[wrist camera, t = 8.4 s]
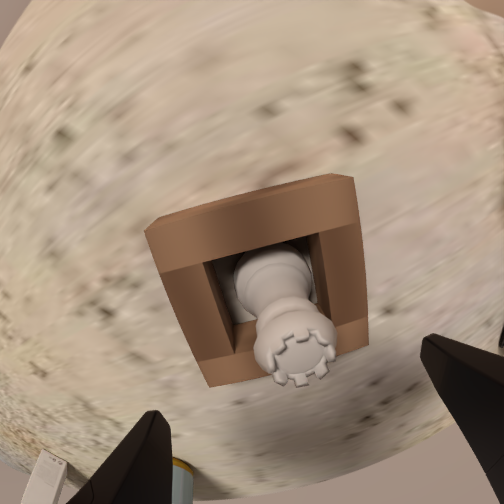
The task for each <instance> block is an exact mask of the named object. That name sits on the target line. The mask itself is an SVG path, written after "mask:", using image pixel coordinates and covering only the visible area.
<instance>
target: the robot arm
mask: <svg viewBox="0 0 504 504" xmlns="http://www.w3.org/2000/svg"><path fill="white" fill-rule="evenodd" d="M499 346H500V347H501V348H503V347H504V331H503V335H502V338H501V341H500V344H499ZM420 358H421V361H422V363H423V365H424V367H425V369H426V371H427V373H428V375H429V377H430V379H431V381H432V383H433V385H434V387H435V389H436V391H437V392H438V394H439V396H440V397H441V399H442V401H443V402H444V404H445V405H446V407H447V408H448V410H449V412H450V413H451V415H452V416H453V418H454V420H455V421H456V423H457V425H458V426H459V428H460V429H461V431H462V433H463V434H464V436H465V438H466V440H467V441H468V443H469V445H470V447H471V448H472V450H473V452H474V454H475V455H476V457H477V459H478V461H479V463H480V465H481V466H482V468H483V470H484V472H485V473H486V476H487V478H488V480H489V482H490V484H491V486H492V488H493V490H494V492H495V494H496V496H497V498H498V500H499V502H500V504H504V357H503V356H500V355H497V354H494V353H491V352H488V351H485V350H482V349H479V348H476V347H473V346H470V345H467V344H464V343H461V342H458V341H455V340H452V339H449V338H446V337H443V336H440V335H438V334H434V333H432V334H430V335H428V336H426V337H424V338H423V340H422V346H421V353H420ZM172 483H173V458H172V444H171V429H170V425H169V424H168V422H167V421H166V419H165V418H164V417H163V415H162V414H161V413H160V411H158V410H152V411H147V412H145V414H144V415H143V416H142V417H141V418H140V420H139V421H138V422H137V423H136V424H135V426H134V427H133V428H132V429H131V430H130V432H129V433H128V434H127V435H126V436H125V438H124V439H123V440H122V441H121V442H120V444H119V445H118V446H117V447H116V448H115V450H114V451H113V452H112V453H111V454H110V455H109V457H108V458H107V459H106V460H105V461H104V463H103V464H102V465H101V466H100V467H99V468H98V470H97V471H96V472H95V473H94V474H93V475H92V477H91V478H90V479H89V480H88V481H87V482H86V483H85V485H84V486H83V487H82V488H81V489H80V490H79V491H78V492H77V493H76V495H74V496H73V497H72V498H71V499H70V500H69V501H68V502H67V503H66V504H172Z"/></svg>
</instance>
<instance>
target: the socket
mask: <svg viewBox="0 0 504 504" xmlns="http://www.w3.org/2000/svg"><path fill="white" fill-rule="evenodd" d="M144 233H145V236H146V239H147V241H148V244H149V247H150V250H151V253H152V256H153V258H154V261H155V264H156V267H157V269H158V272H159V275H160V277H161V280H162V282H163V285H164V288H165V290H166V293H167V295H168V298H169V300H170V303H171V305H172V307H173V310H174V312H175V315H176V317H177V319H178V322H179V324H180V326H181V329H182V331H183V333H184V335H185V338H186V340H187V342H188V344H189V346H190V349H191V351H192V353H193V355H194V357H195V359H196V361H197V364H198V366H199V368H200V370H201V372H202V374H203V376H204V378H205V380H206V382H207V384H208V386H209V388H210V387H216V386H221V385H227V384H232V383H237V382H241V381H246V380H251V379H255V378H260V377H264V376H268V375H272V374H270V373H269V374H268V372H266V371H264V370H263V369H262V368H261V367H260V366H259V364H258V363H257V362H256V360H255V355H254V344H255V342H256V339H257V332H256V323H257V321H258V319H257V320H253V321H249V322H245V323H241V324H236V325H233V324H232V321H231V318H230V315H229V312H228V309H227V306H226V303H225V300H224V297H223V294H222V291H221V288H220V285H219V282H218V278H217V275H216V272H215V269H214V266H213V263H212V260H214V259H218V258H221V257H225V256H229V255H233V254H237V253H241V252H244V251H248V250H252V249H256V248H260V247H264V246H267V245H271V244H275V243H279V242H283V241H287V240H291V239H294V238H298V237H302V236H306V238H307V243H308V249H309V254H310V260H311V265H312V271H313V277H314V283H315V289H316V295H317V302H318V303H316V304H314V305H316V307H317V309H318V311H319V313H321V314H322V315H324V316H325V317H327V318H328V319H329V320H331V321H332V323H333V325H334V327H335V329H336V331H337V345H336V348H335V350H336V356H338V355H341V354H344V353H347V352H350V351H353V350H356V349H359V348H361V347H364V346H367V345H369V337H368V304H367V287H366V273H365V261H364V251H363V241H362V233H361V225H360V217H359V210H358V203H357V197H356V190H355V184H354V179H353V177H350V176H344V175H338V174H332V173H331V174H326V175H321V176H316V177H312V178H307V179H303V180H298V181H294V182H289V183H285V184H281V185H277V186H272V187H268V188H264V189H260V190H256V191H252V192H248V193H244V194H240V195H236V196H233V197H229V198H225V199H221V200H218V201H214V202H210V203H207V204H203V205H200V206H196V207H193V208H189V209H186V210H182V211H179V212H175V213H172V214H169V215H165V216H162V217H159V218H158V219H156V220H155V221H154V222H153V223H152V224H151V225H150V226H149V227H147V228H146V229H145V230H144Z"/></svg>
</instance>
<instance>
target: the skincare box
mask: <svg viewBox="0 0 504 504" xmlns="http://www.w3.org/2000/svg"><path fill="white" fill-rule="evenodd" d="M66 476H67V462H66V461H64V460H62V459H60V458H58V457H57V456H55V455H53V454H51V453H49V452H48V451H46V450H44V449H42V451H41V453H40V455H39V458H38V460H37V462H36V465H35V467H34V469H33V472H32V474H31V477H30V479H29V482H28V485H27V487H26V490H25V492H24V495H23V498H22V501H21V504H57V503H58V500H59V497H60V494H61V490H62V487H63V484H64V482H65V479H66Z"/></svg>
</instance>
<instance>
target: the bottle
mask: <svg viewBox="0 0 504 504" xmlns="http://www.w3.org/2000/svg"><path fill="white" fill-rule="evenodd" d="M172 458H173V483H172V504H193V503H192V502H193V471H192V470H191V469H190V468H189V467H188V466H187V464H185V463H184V462H182V461H181V460H178V459H176V458H174V457H172Z"/></svg>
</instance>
